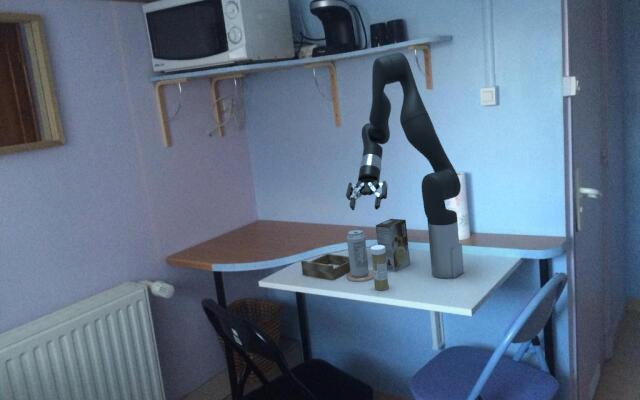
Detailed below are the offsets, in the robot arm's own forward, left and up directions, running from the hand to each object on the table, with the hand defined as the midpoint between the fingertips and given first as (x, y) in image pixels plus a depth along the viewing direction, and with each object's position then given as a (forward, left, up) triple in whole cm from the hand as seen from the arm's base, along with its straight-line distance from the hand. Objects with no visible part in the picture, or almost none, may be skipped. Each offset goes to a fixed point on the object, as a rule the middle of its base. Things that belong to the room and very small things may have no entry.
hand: (364, 208), depth 191 cm
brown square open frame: (+10, +10, -21) cm, 25 cm away
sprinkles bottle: (-16, +16, -21) cm, 31 cm away
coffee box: (-9, -2, -21) cm, 23 cm away
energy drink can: (-4, +11, -20) cm, 23 cm away
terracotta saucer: (-4, +10, -21) cm, 23 cm away
